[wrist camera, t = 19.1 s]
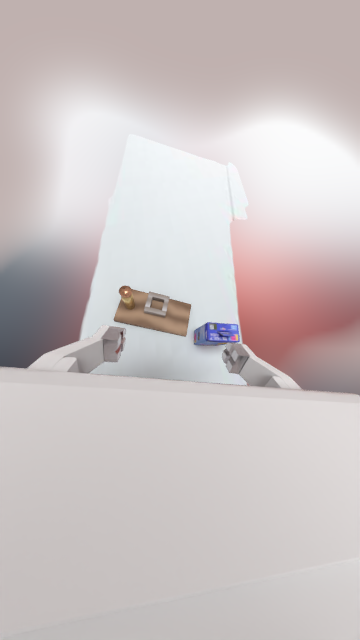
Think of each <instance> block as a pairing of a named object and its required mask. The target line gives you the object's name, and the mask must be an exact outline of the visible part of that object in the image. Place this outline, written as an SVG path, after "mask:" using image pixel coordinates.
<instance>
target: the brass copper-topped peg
mask: <svg viewBox="0 0 360 640" xmlns="http://www.w3.org/2000/svg"><path fill="white" fill-rule="evenodd" d="M119 293H120V295H121V297H122V299H123V301H124V304H125V306H126V308H127V309H129V310H132V309H134V308H135V302H134V298H133V294H132V290H131V288H130V287H129V286H122V287H121V288H120V289H119Z"/></svg>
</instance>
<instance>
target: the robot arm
mask: <svg viewBox="0 0 360 640" xmlns="http://www.w3.org/2000/svg"><path fill="white" fill-rule="evenodd" d="M125 334H126V329H125V328H120V327H113V326H106V325H102V326H101V327H100V328H99V329H98V331H97V332H96V333H95V334H94V335H93V336H92V337H91V338H86V339H83V340H81V341H78V342H75V343H72V344H70V345H67V346H64V347H62V348H59V349H56V350H54V351H51V352H48V353H46V354H44V355H42V356H41V357H40V358H39V359H38V360H37V361H35V362H34V363H33V364H32V365H30V366H29V367H28V368H27V369H23V368H10V367H0V640H360V396H359V395H357V394H351V393H338V392H325V391H312V390H302V389H301V388H300V387H299V386H298V385H297V384H296V383H295V382H294V381H293V380H292V379H291V378H290V377H289V376H287V375H286V374H284V373H282V372H281V371H279V370H278V369H276V368H274V367H272V366H271V365H269V364H268V363H266V362H264V361H263V360H261V359H260V358H257V357H256V356H255V355H254V353H253V352H252V351H251V350H250V349H249V348H248V347H247V345H245V344H236V343H227V344H226V346H225V347H226V349H225V350H224V351H223V353H222V359H223V362H224V363H226V368H227V369H228V371H229V373H236V374H239V375H240V376H241V377H242V378H243V379H244V380H245V381H246V382H247V383H248V384H249V385H250V386H246V385H233V384H220V383H207V382H193V381H180V380H167V379H154V378H141V377H128V376H115V375H102V374H89V372H91V371H92V370H94V369H95V368H96V367H98V366H99V365H101V364H102V363H103V362H104V361H105V362H118V360H119V358H120V356H121V352H122V351H123V349H124V346H125V337H124V336H125Z"/></svg>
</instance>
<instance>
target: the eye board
mask: <svg viewBox="0 0 360 640" xmlns="http://www.w3.org/2000/svg"><path fill="white" fill-rule="evenodd" d="M131 290H132V294H133V298H134V302H135V308H134V309H132V310H129V309H127V308H126V306H125V304H124V301H123V299H122V298H121V301H120V303H119V306H118V309H117V312H116V314H115V317H114V321H116V322H121V323H126V324H130V325H135V326H139V327H144V328H149V329H153V330H158V331H162V332H167V333H172V334H176V335H181V336H186V334H187V328H188V322H189V315H190V309H191V304H187V303H184V302H180V301H176V300H172V299H169V297H168V296H165V295H161V294H157V293H153V292H149V293H145V292H141V291H137V290H133V289H131Z"/></svg>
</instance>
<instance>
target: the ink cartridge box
mask: <svg viewBox="0 0 360 640" xmlns="http://www.w3.org/2000/svg"><path fill="white" fill-rule="evenodd" d="M236 342H240V341H239V331H238V325H237V324H222V323H221V324H220V323H210V322H207V323H206V324H204V325H203V326H201V327H199V328H198V329H196V330H195V331H194V344H196V345H224V344H227V343H236Z"/></svg>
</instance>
